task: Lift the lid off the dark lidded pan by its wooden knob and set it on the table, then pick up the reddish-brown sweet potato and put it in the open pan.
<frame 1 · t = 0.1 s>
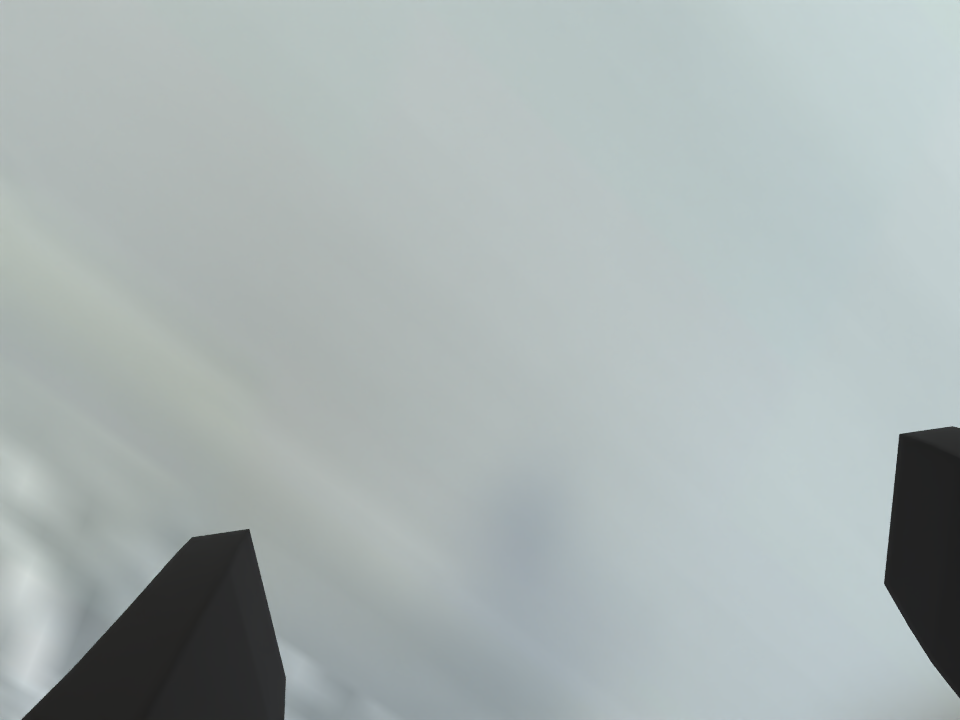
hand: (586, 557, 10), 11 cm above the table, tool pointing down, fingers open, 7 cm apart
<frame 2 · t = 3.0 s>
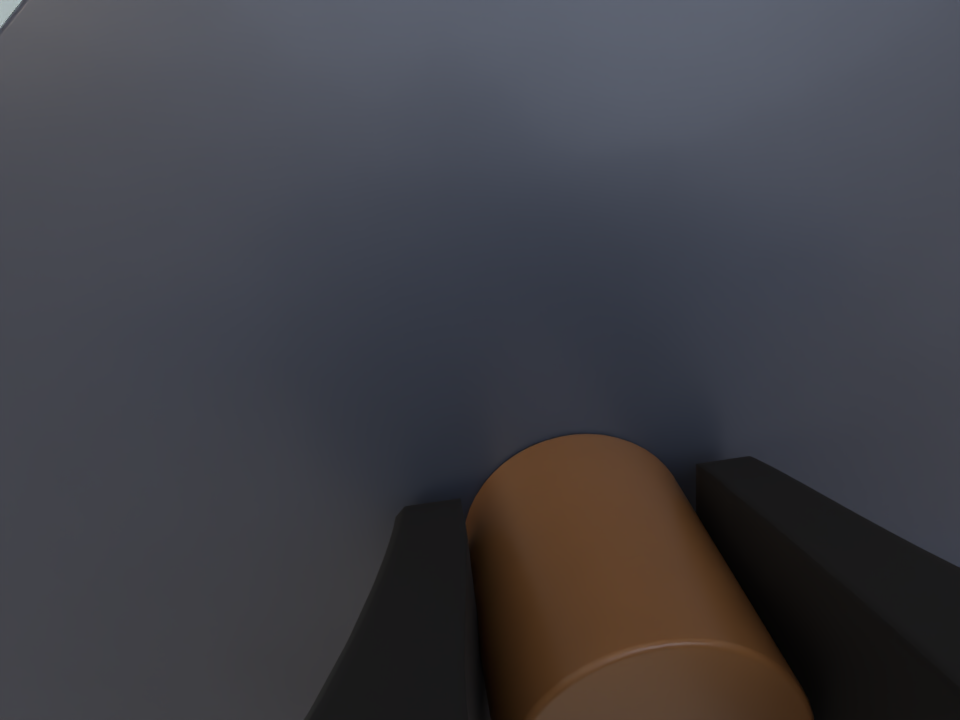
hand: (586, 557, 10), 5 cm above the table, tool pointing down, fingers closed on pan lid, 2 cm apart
pan lid: (566, 507, 11), point 4 cm above the table, touching gripper, pan
when the fingers open (2 cm above the table, at t = 8.0 s): pan lid stays where it is, point 1 cm above the table.
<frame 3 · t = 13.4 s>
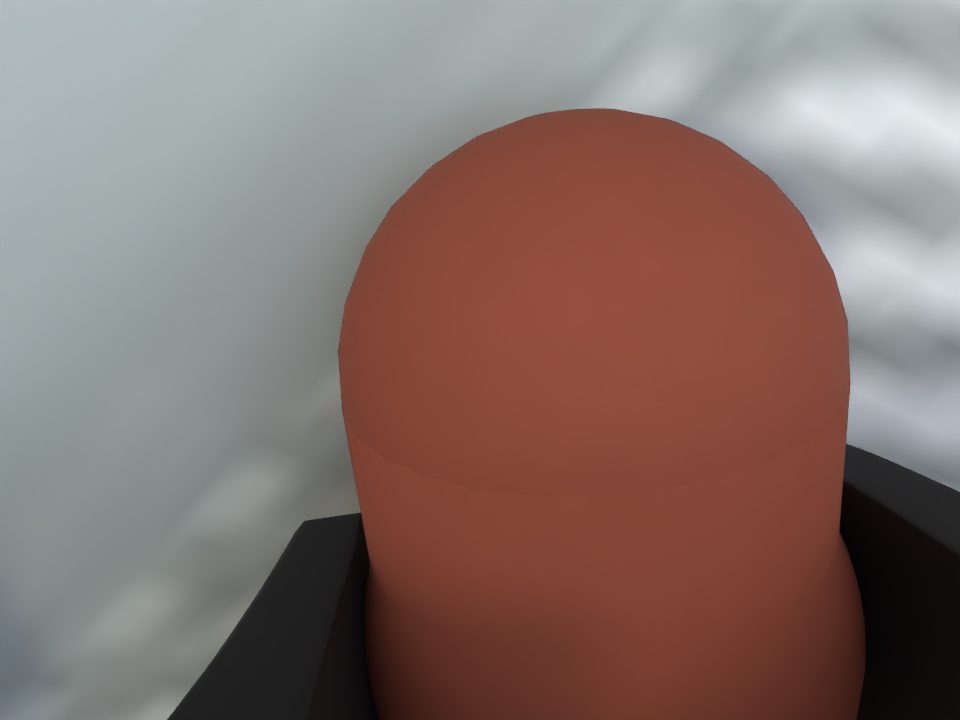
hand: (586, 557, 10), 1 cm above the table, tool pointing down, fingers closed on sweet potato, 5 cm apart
sweet potato: (558, 490, 11), on the table, touching gripper
when the fingers open (2 cm above the table, at t = 18.2 s): sweet potato stays where it is, resting on pan.
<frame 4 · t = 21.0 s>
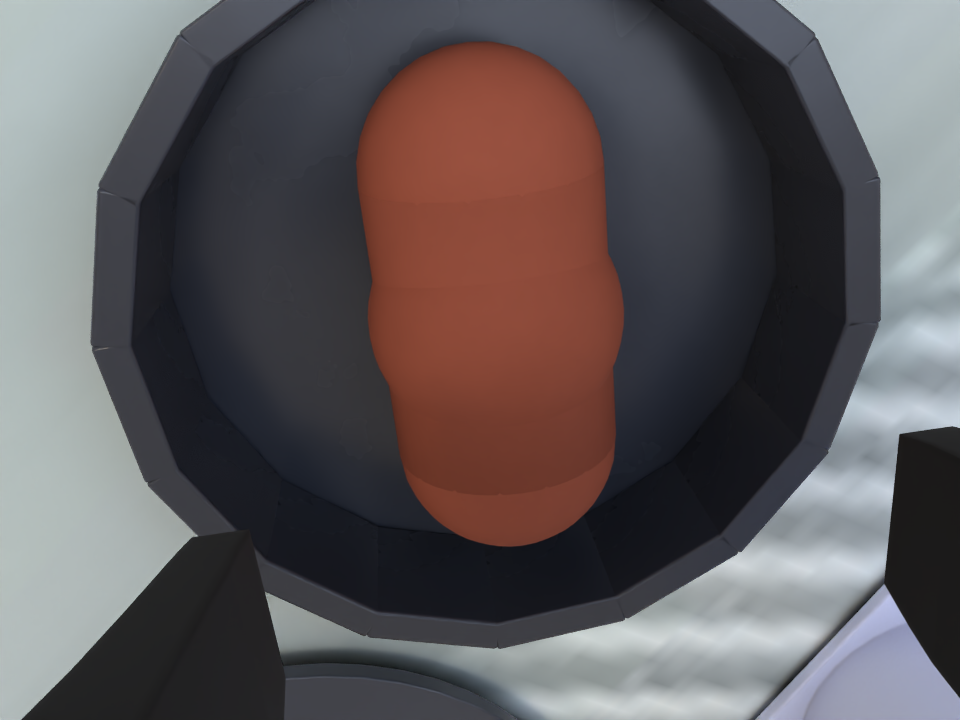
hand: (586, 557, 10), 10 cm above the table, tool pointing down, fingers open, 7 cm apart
pan: (482, 275, 19), on the table
sweet potato: (481, 277, 19), resting on pan
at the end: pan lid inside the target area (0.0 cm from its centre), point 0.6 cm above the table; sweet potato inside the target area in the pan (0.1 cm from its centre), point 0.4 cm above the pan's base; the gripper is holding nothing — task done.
